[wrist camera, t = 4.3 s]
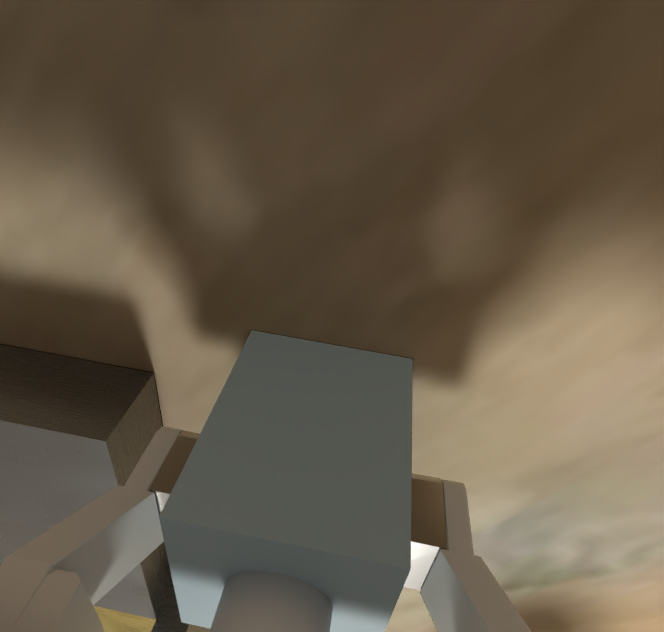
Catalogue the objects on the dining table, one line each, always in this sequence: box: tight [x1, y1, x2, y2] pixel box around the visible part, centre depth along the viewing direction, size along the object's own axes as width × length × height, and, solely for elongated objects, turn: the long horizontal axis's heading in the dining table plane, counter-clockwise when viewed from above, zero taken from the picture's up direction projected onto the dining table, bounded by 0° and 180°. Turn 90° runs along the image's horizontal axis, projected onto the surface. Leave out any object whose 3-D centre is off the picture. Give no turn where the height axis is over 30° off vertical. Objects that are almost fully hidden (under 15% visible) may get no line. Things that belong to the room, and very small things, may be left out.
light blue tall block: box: [159, 330, 413, 632], centre depth 10 cm, size 4×4×6 cm
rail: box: [0, 344, 210, 632], centre depth 17 cm, size 10×19×4 cm, turn 174°
